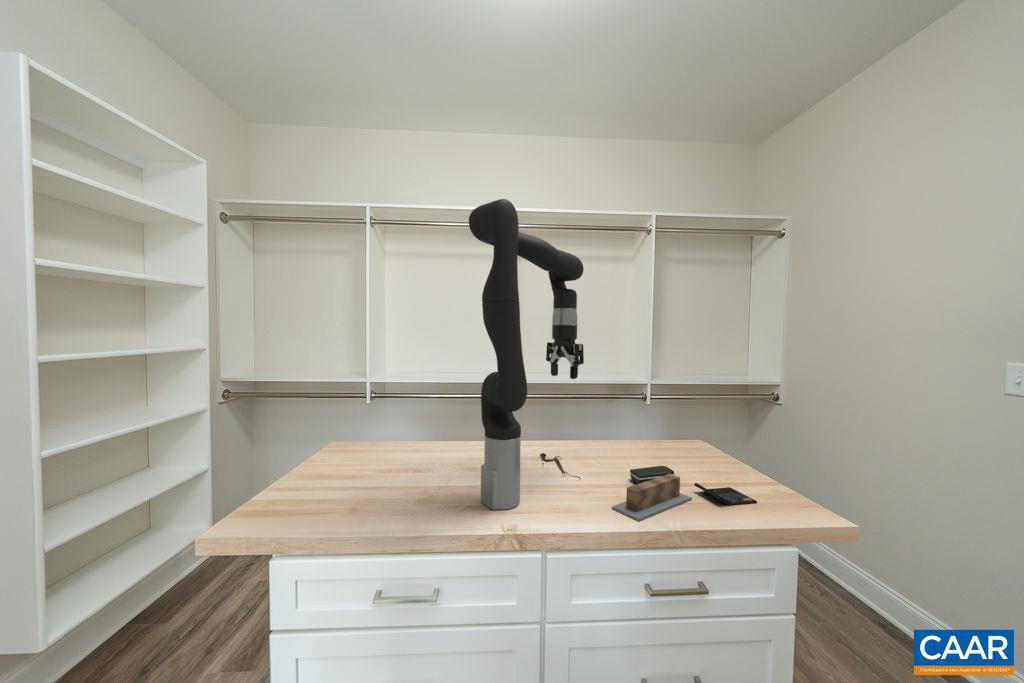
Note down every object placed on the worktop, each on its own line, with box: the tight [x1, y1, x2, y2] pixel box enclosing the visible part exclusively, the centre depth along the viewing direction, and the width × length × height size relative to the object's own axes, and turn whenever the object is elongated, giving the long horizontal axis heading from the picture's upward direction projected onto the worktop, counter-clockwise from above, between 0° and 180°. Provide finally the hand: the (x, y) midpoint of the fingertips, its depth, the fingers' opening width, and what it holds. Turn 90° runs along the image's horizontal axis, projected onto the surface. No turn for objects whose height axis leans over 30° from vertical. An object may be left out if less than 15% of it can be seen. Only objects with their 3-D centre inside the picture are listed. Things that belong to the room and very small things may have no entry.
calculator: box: [693, 482, 758, 507], centre depth 106 cm, size 9×12×3 cm
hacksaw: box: [539, 452, 581, 481], centre depth 128 cm, size 24×10×2 cm, turn 2°
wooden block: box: [625, 474, 681, 512], centre depth 101 cm, size 18×3×5 cm, turn 125°
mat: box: [611, 492, 693, 522], centre depth 101 cm, size 22×8×1 cm, turn 125°
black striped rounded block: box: [629, 465, 676, 485], centre depth 115 cm, size 7×4×11 cm
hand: (563, 377), depth 120 cm, fingers open, 8 cm apart
